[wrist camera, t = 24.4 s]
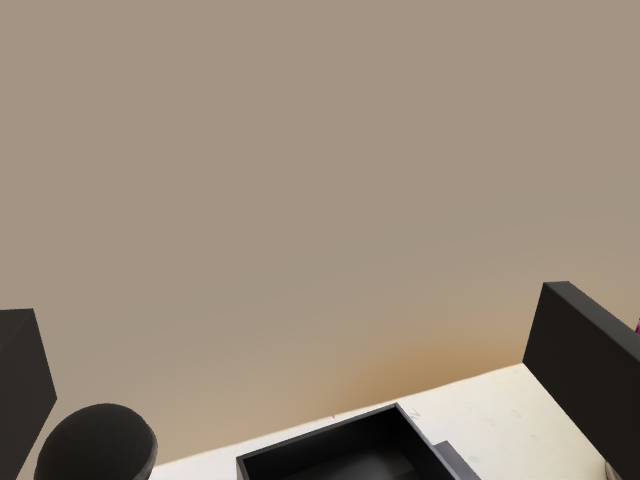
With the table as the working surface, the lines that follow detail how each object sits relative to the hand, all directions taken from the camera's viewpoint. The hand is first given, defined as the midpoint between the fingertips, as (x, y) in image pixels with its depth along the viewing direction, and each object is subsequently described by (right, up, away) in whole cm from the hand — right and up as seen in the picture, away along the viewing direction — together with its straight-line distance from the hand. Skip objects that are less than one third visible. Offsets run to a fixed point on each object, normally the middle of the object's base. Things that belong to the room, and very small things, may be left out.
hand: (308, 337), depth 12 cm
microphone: (-14, -26, +23) cm, 37 cm away
